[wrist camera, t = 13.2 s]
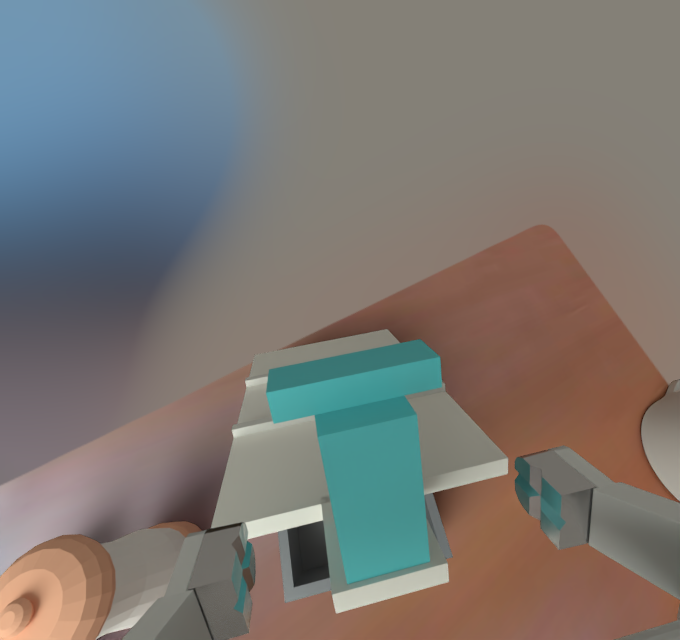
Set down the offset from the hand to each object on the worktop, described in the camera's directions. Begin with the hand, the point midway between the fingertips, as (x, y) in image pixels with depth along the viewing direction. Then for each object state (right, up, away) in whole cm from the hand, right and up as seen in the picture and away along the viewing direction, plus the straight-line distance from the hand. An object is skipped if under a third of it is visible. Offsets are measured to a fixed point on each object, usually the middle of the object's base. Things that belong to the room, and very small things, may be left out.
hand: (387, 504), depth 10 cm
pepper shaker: (-18, -20, +24) cm, 36 cm away
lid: (-1, -1, +15) cm, 15 cm away
